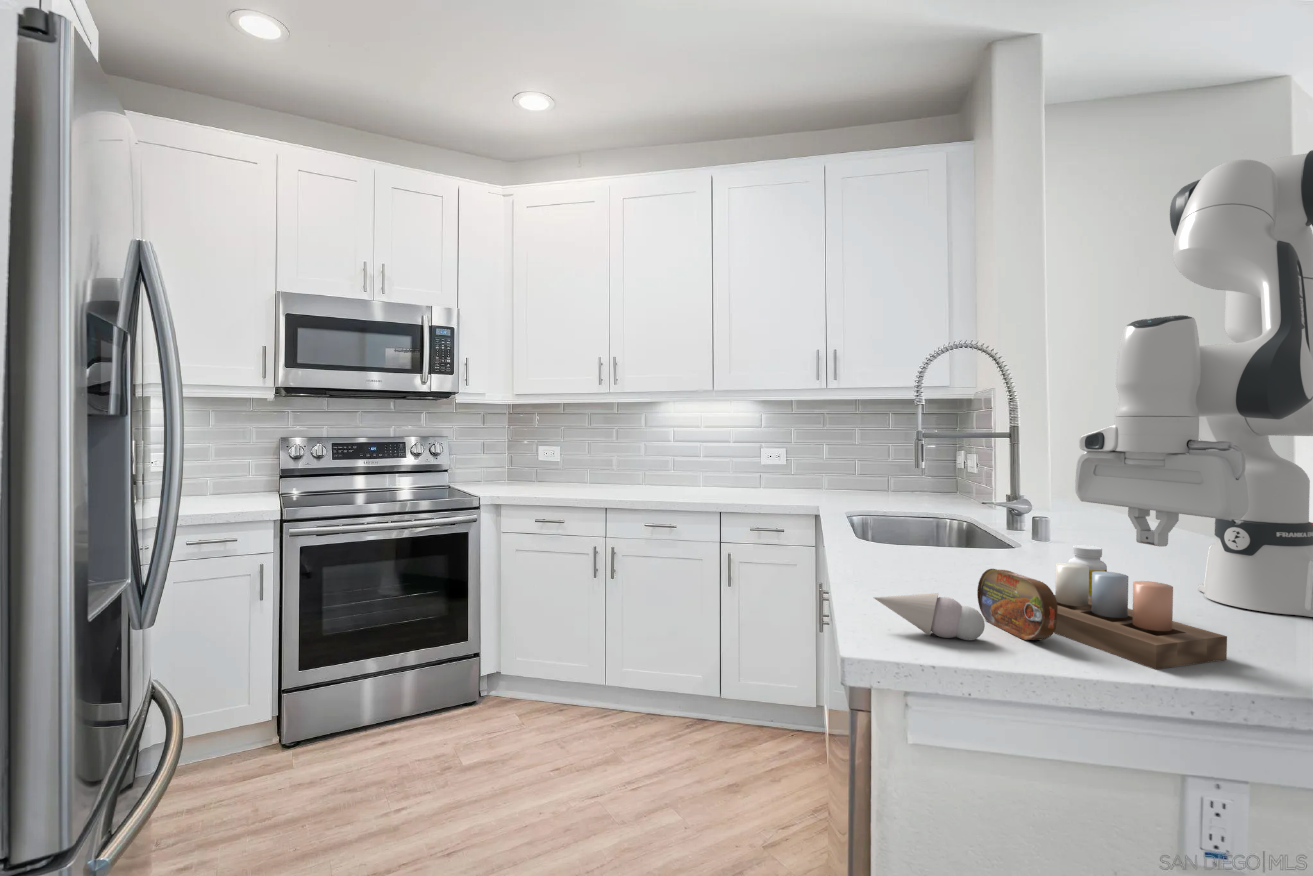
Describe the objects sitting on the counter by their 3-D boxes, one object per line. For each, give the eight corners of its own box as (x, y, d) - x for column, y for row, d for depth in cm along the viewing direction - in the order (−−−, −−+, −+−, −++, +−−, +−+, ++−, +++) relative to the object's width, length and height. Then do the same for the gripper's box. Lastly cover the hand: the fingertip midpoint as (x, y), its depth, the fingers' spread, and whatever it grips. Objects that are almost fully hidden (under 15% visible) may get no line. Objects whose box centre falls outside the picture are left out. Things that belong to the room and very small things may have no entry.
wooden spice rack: (1073, 611, 104) (1073, 593, 104) (1226, 659, 83) (1226, 636, 83) (1012, 617, 101) (1012, 598, 101) (1155, 669, 80) (1156, 645, 80)
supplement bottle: (1112, 611, 104) (1113, 550, 104) (1075, 609, 105) (1076, 549, 105) (1097, 602, 110) (1098, 544, 109) (1061, 600, 111) (1062, 543, 111)
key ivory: (1070, 597, 100) (1070, 562, 100) (1095, 604, 96) (1096, 567, 96) (1048, 599, 99) (1049, 563, 99) (1073, 607, 95) (1073, 569, 95)
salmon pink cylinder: (1148, 620, 89) (1148, 580, 89) (1180, 629, 85) (1181, 587, 85) (1124, 622, 88) (1125, 582, 88) (1156, 632, 84) (1156, 589, 84)
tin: (975, 616, 102) (975, 562, 102) (994, 615, 102) (994, 562, 102) (1040, 649, 87) (1040, 586, 87) (1062, 648, 87) (1063, 586, 87)
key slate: (1106, 608, 95) (1107, 570, 94) (1135, 616, 91) (1135, 577, 90) (1084, 610, 93) (1084, 572, 93) (1112, 619, 89) (1112, 579, 89)
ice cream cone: (868, 624, 97) (978, 656, 91) (867, 607, 93) (983, 640, 86) (877, 588, 100) (985, 616, 94) (877, 570, 96) (990, 598, 89)
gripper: (1264, 441, 76) (1260, 559, 77) (1102, 438, 96) (1099, 531, 96) (1225, 441, 75) (1221, 561, 75) (1068, 437, 94) (1065, 532, 95)
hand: (1151, 544), depth 86 cm, fingers closed
